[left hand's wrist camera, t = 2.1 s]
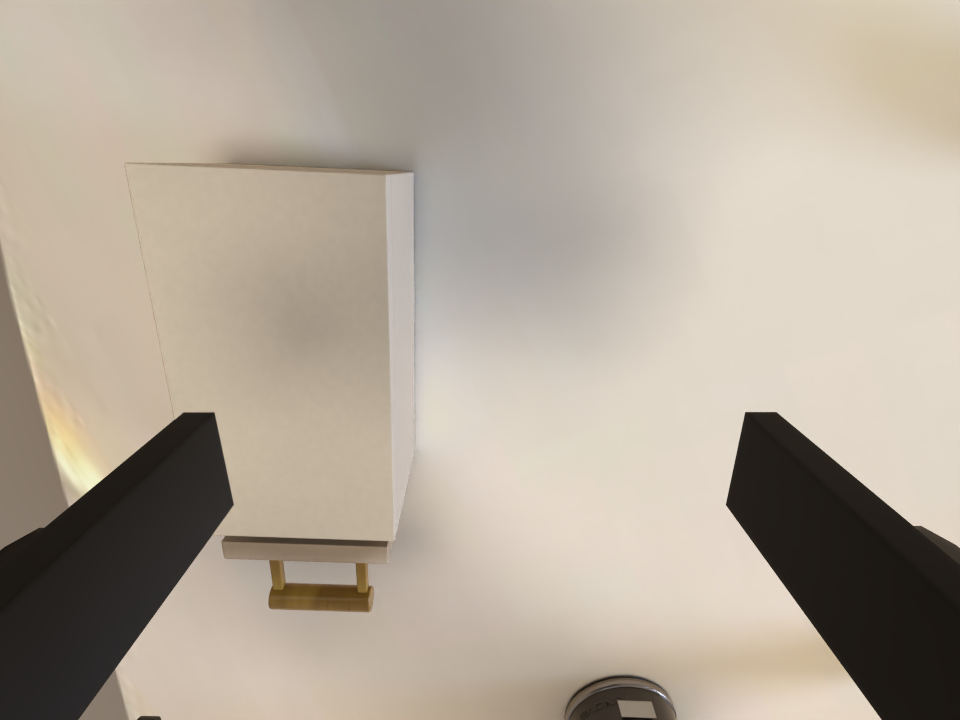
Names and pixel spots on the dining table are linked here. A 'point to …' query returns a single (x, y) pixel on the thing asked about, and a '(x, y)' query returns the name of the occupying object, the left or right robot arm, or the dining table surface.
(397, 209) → the cabinet
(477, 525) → the dining table surface
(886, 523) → the left robot arm
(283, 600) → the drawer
